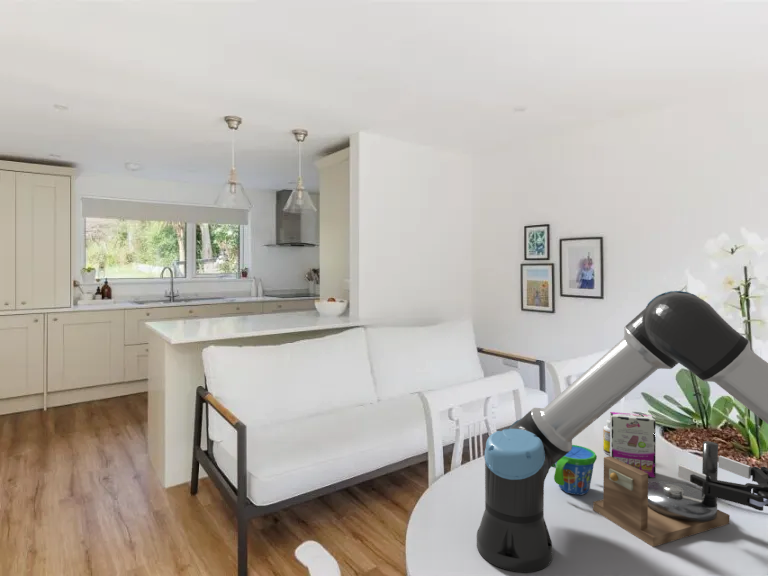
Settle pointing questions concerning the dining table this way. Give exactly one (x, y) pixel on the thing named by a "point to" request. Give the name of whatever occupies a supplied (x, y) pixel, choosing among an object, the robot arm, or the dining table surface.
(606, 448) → the supplement bottle
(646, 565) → the dining table surface
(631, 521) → the levelling stand
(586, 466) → the snack cup
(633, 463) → the candy bar box
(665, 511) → the dial
